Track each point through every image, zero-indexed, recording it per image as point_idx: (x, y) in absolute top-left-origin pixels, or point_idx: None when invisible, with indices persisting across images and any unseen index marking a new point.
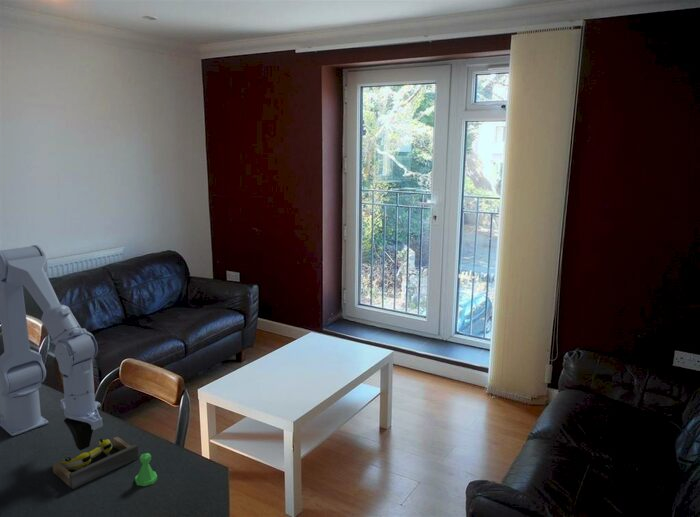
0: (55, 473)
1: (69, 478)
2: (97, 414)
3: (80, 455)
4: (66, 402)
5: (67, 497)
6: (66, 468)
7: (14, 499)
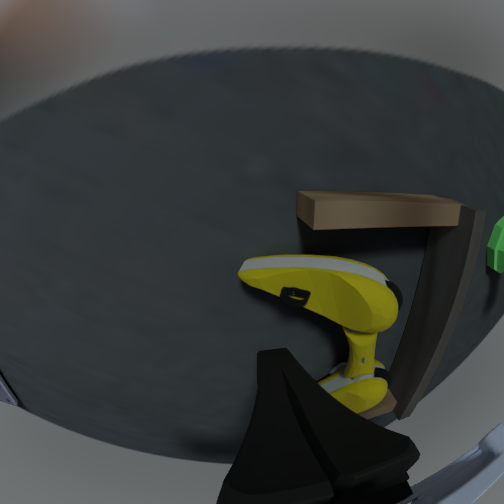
0: None
1: (390, 410)
2: (488, 484)
3: (370, 407)
4: None
5: None
6: None
7: None
